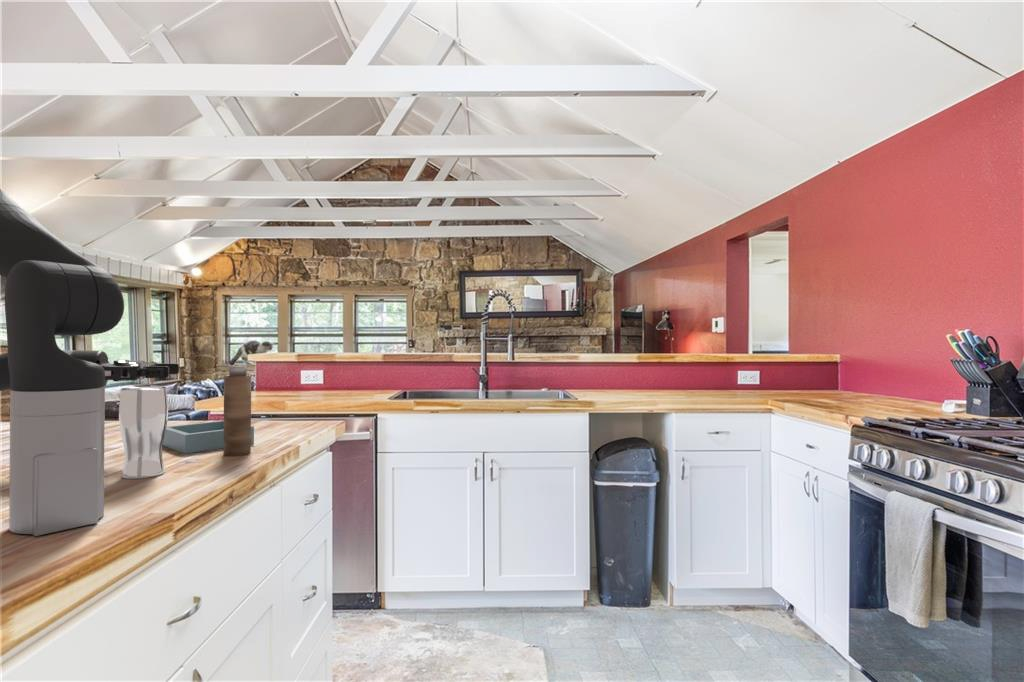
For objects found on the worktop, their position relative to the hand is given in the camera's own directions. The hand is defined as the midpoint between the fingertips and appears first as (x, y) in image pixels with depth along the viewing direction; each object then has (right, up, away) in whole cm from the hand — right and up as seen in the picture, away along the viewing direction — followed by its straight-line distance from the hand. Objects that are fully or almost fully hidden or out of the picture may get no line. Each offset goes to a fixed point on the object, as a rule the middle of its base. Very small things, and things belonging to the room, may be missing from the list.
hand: (174, 370), depth 104 cm
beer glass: (+3, -18, -13) cm, 22 cm away
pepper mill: (+10, -17, +4) cm, 21 cm away
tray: (-1, -17, +13) cm, 22 cm away
